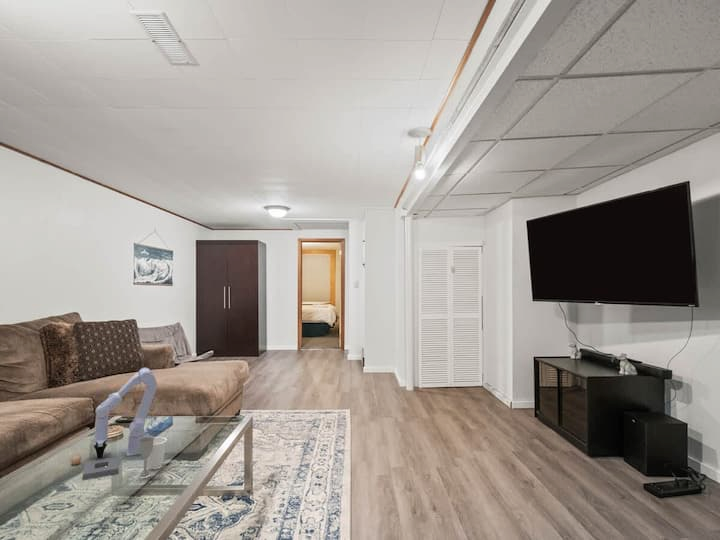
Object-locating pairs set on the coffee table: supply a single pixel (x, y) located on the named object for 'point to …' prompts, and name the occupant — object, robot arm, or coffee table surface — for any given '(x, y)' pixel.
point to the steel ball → (100, 458)
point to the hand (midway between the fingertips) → (100, 455)
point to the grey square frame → (100, 467)
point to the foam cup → (157, 453)
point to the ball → (76, 460)
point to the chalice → (145, 451)
